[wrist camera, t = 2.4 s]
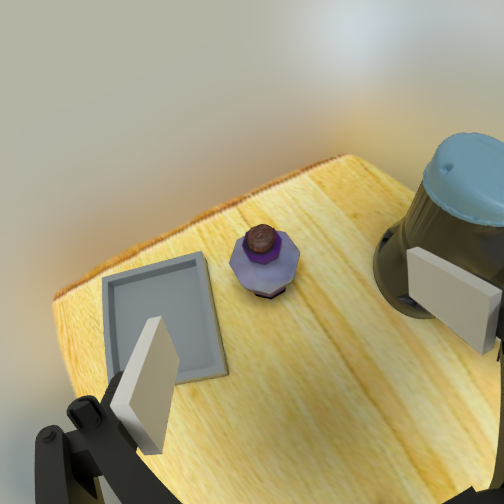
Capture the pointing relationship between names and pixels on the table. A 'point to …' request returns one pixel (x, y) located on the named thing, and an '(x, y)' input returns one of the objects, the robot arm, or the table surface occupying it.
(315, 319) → the table surface
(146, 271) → the tray
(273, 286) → the potion bottle
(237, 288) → the table surface
